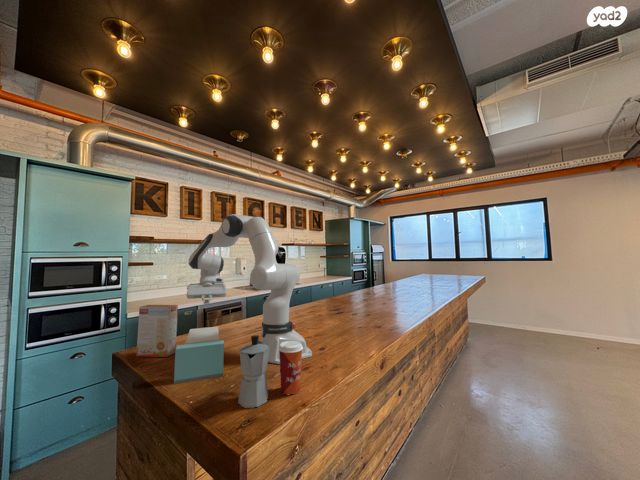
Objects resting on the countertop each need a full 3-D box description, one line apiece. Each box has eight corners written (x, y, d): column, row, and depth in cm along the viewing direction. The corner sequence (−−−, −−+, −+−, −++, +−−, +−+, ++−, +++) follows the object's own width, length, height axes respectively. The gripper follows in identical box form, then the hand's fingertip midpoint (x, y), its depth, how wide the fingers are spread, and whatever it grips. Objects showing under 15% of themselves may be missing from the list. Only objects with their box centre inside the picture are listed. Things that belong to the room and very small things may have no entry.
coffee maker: (265, 412, 66) (267, 342, 67) (231, 414, 65) (233, 343, 67) (272, 385, 80) (273, 327, 82) (244, 386, 80) (246, 328, 81)
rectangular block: (220, 342, 123) (221, 320, 124) (223, 375, 87) (224, 343, 88) (186, 346, 117) (187, 323, 118) (173, 383, 81) (175, 349, 82)
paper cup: (292, 400, 72) (292, 349, 73) (272, 392, 76) (273, 345, 77) (308, 388, 78) (308, 342, 79) (288, 382, 82) (289, 338, 83)
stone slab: (218, 335, 119) (218, 326, 119) (218, 349, 99) (218, 339, 99) (189, 338, 114) (190, 329, 115) (184, 354, 94) (184, 343, 95)
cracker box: (176, 352, 110) (178, 304, 112) (166, 357, 104) (169, 306, 106) (146, 351, 111) (149, 304, 113) (135, 356, 105) (138, 306, 107)
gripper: (187, 280, 138) (184, 300, 128) (226, 279, 146) (226, 298, 136) (187, 287, 142) (184, 308, 132) (226, 286, 150) (226, 305, 140)
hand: (206, 303), depth 134 cm, fingers closed
